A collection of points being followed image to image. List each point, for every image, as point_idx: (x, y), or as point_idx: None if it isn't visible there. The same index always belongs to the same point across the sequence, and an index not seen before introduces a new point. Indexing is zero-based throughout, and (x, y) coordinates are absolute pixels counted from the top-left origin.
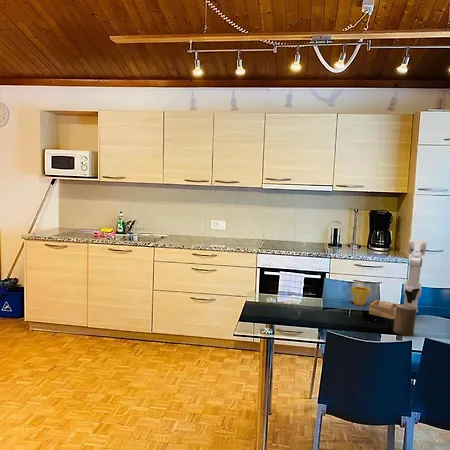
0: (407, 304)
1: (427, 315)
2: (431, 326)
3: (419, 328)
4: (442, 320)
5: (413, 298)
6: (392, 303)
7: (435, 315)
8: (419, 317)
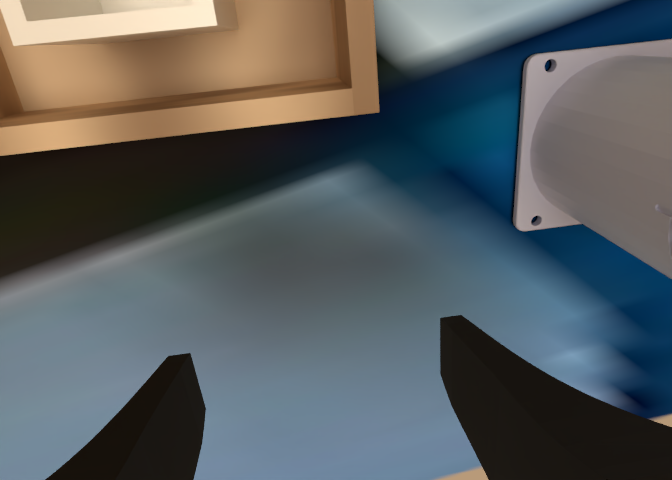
0: (591, 150)
1: (569, 320)
2: (213, 457)
3: (28, 426)
4: None
5: (456, 387)
6: (136, 27)
7: (626, 363)
8: (423, 299)
